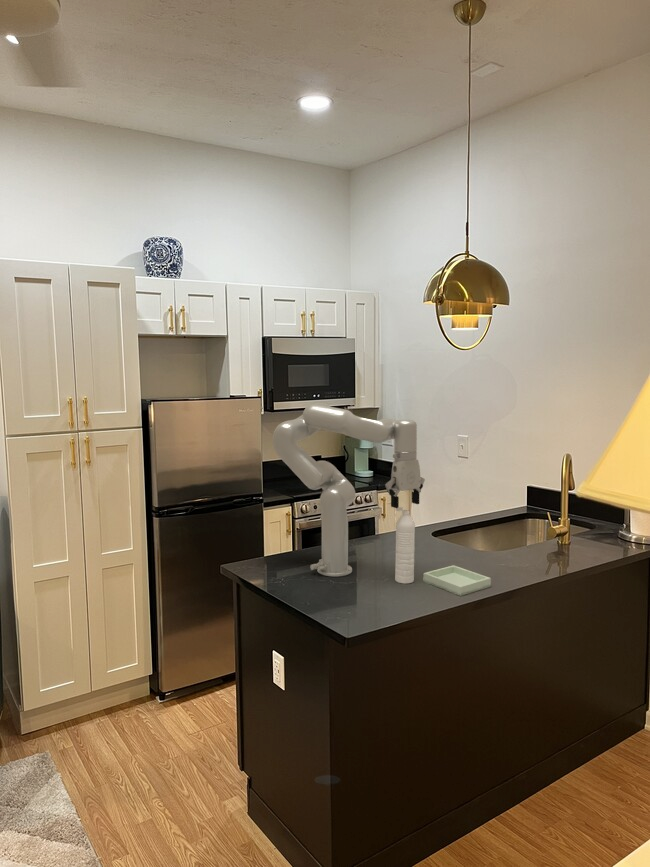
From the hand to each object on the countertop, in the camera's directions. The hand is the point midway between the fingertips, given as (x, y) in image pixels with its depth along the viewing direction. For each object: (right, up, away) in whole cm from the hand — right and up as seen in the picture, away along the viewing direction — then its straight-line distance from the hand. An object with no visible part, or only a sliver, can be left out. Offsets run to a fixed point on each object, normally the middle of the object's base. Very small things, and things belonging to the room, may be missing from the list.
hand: (405, 505), depth 224 cm
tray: (+17, -27, -1) cm, 32 cm away
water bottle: (-1, -27, +3) cm, 27 cm away
